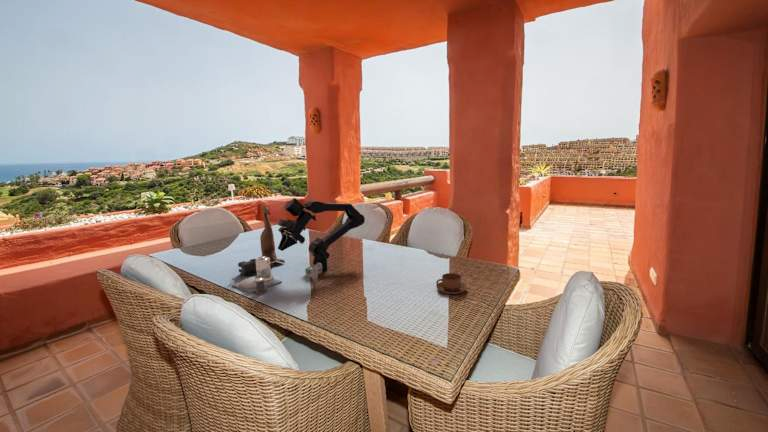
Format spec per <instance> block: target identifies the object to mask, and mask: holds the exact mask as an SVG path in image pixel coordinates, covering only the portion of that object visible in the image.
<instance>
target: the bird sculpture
mask: <svg viewBox="0 0 768 432" xmlns="http://www.w3.org/2000/svg"><path fill="white" fill-rule="evenodd" d="M261 211H262V215H263V223H264V224H263V225H264V229H263V230H262V232H261V234H260V236H259V237H260V238H259V239H260V249H261V251H260V252H261V256H266V257H269V258H270V264H274V263H276V262H277V263H279V262H280V263H286V262H285V260H284V259H281V258H277V254H276V243H275V242H276V241H275V236H274V230H273V227H272V225H271V221H270V218H269V216H270V215H271V211H270V209H268V207H267V205H266V204H265V203H264V204H263V205H262V207H261Z"/></svg>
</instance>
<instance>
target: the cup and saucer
mask: <svg viewBox="0 0 768 432" xmlns="http://www.w3.org/2000/svg"><path fill="white" fill-rule="evenodd" d="M435 284H436V289H437V291H439V292H441V293H444V294H448V295H459V294H461V293H462V294H463V293H464V292H465V291H467V285H466V284H465V283H462V276H461V275H460V274H458V273H450V272H449V273H448V272H447V273H444V274H442V276H441V278H439V279H437V280H436V282H435Z"/></svg>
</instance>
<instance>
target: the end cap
mask: <svg viewBox="0 0 768 432" xmlns="http://www.w3.org/2000/svg"><path fill="white" fill-rule="evenodd" d="M256 259H257V258H252V259H249V260H248V261H245V260H244V261H240V262H238V263H237V264H238V265H237V266H238V273H239V276H241V277H243V276H244V277H248V276H251V275H254V274H257V271H256Z"/></svg>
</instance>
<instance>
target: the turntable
mask: <svg viewBox="0 0 768 432" xmlns="http://www.w3.org/2000/svg"><path fill="white" fill-rule="evenodd" d="M256 276H257V275H255V276H250V277H246V278H245V279H243V280H241V281H237V282H234V283H231V286H232V287H234V288H236V289H238V290H241V291H244V292H245V293H248V294H254V293H255V292H254V290H256V289H257V287H256V281H255V277H256ZM282 283H283V281H282V280H280V279H276V278H274V279H273V280H271V281H268V282H264V288H265V289H268V288H271V287H273V286H276V285H280V284H282Z"/></svg>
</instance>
